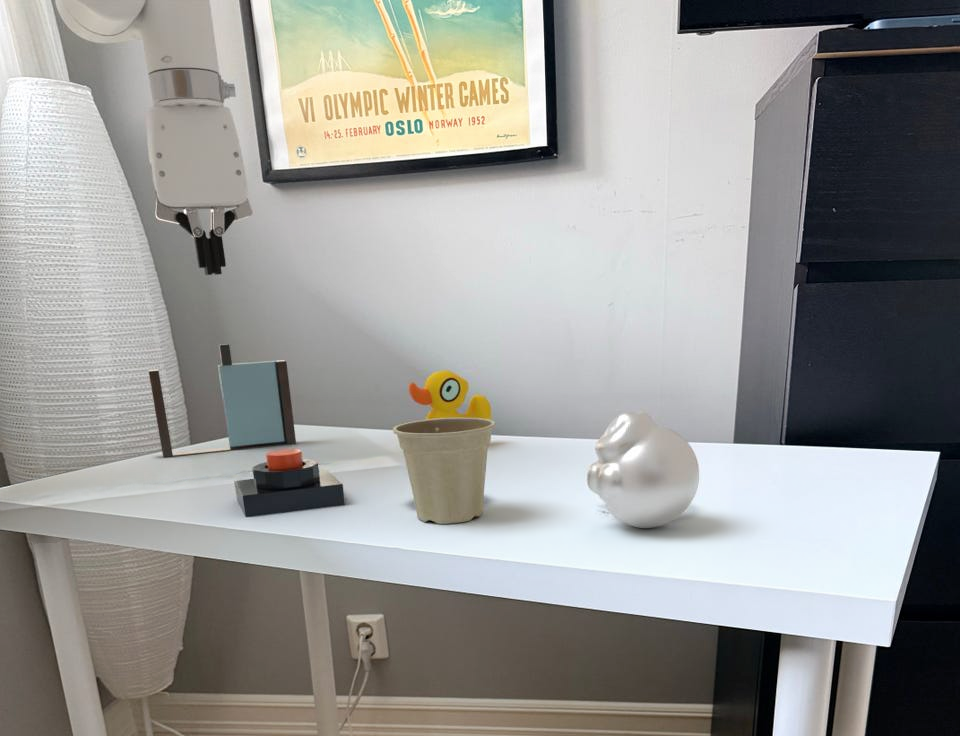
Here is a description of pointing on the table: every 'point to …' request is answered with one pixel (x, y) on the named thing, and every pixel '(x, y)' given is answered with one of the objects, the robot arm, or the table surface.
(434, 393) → the duckling
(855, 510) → the table surface
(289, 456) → the button
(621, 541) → the table surface
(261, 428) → the window pane
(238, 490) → the button box
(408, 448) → the flower pot
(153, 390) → the window frame
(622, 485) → the pearly white lumpy ball
